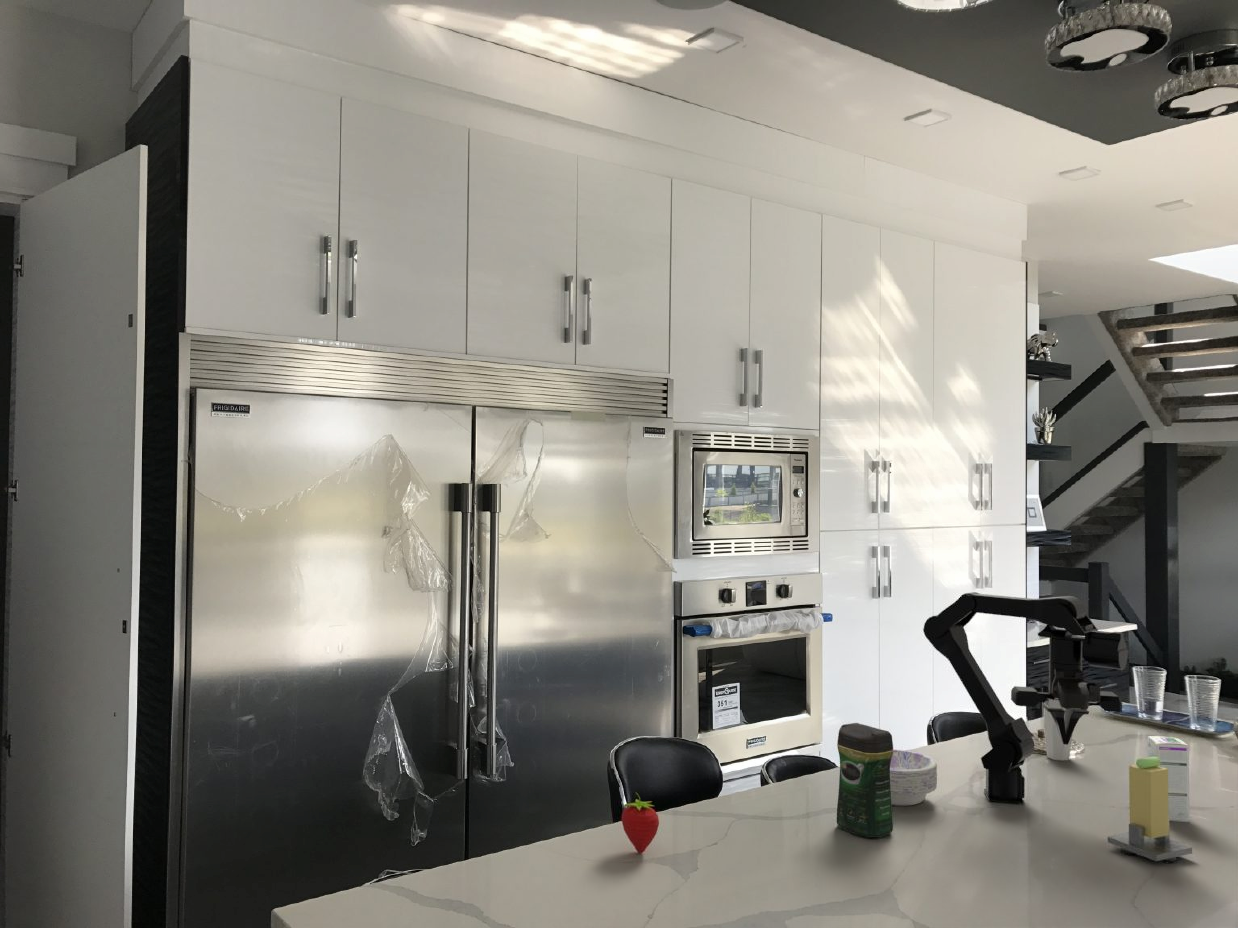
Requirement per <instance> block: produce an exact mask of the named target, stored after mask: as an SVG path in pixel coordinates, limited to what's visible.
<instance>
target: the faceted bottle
mask: <svg viewBox="0 0 1238 928" xmlns="http://www.w3.org/2000/svg"><path fill="white" fill-rule="evenodd" d="M1056 699H1058V698H1056ZM1062 709H1063V710H1065V708H1063V707H1062ZM1064 721H1065V715H1064ZM1042 722H1043V723H1042V724H1043V730H1044V739H1045V748H1046V750H1045V751H1046V755H1047V756H1046V757H1047V758H1049V759H1051V760H1054V761H1070V755H1071V754H1070V753H1071V747H1072V738H1073V733H1072V736H1071V738H1070V741H1069V743H1068V745H1066V744H1065V745H1064V744H1063V743H1062V741H1061V738H1060V735H1059V732H1058V730H1057V727H1056V724H1055V722H1054V719H1053V717H1052V715H1051V713H1050V712H1048V711H1047V710H1046V709H1045V708H1044V707H1043V721H1042Z"/></svg>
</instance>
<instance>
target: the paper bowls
mask: <svg viewBox="0 0 1238 928" xmlns="http://www.w3.org/2000/svg"><path fill="white" fill-rule="evenodd" d="M937 771H938V764H937V761H936V760H935V759H934V758H932V757H931V756H928V755H925V754H923V753H919V752H915V751H909V750H902V749H894V748H893V756H892V758H891V763H890V788H891V803H892V806H899V807H900V806H906V807H907V806H914V805H918V804H920V803H922V802H923V801H924V800H925V799H926V796H927V794H930V793H932V792H934V791H935V790H937V787H938V785H937V784H938V772H937Z"/></svg>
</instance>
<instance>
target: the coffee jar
mask: <svg viewBox="0 0 1238 928" xmlns="http://www.w3.org/2000/svg"><path fill="white" fill-rule="evenodd" d="M837 735H838V737H837V743H836V745H837V751H838V756H839V780H838V781H839V782H838V783H839V784H838V796H837V797H838V798H837V806H836V823H837V826H838V827H839V828H840V829H843V830H844V831H847V832H849V833H852V834H855V835H858V836H860V837H864V838H884V837H886V836H888V835H890V834H891V833H893V829H894V828H893V827H894V826H893V825H894V820H893V819H894V818H893V817H894V816H893V807H892V806H893V805H892V803H891V788H890V763H891V758H892V756H893V749H894V743H893V736H892V734H891V732H890V731H888V730H885V729H881V728H877V727H873V726H871V725H867V724H863V723H859V722H853V723H845V724H842V725H841V726H840V728H839V730H838V734H837Z"/></svg>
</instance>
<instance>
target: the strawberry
mask: <svg viewBox="0 0 1238 928" xmlns="http://www.w3.org/2000/svg"><path fill="white" fill-rule="evenodd" d="M635 794H636V795H637V796H638V799H636V798H635V801H634V802H630V803H629V802H628V803H625V804H623V805H622V807H626V808H624V810H622V812H621V813H622V815H621V823H622V827H623V831H624V833H625V834H626V835H625V836H627V838H628V839H629V842H630V843H631V844H632V846H633V847H634V849H635V850H636V852H637V853H638V854H642V853H644V852H645V851H646V849H647V848H648V847H649V845H651V843H652V841H653V840H654V838H656V837H655V836H657V833H658V828H659V825H660V820H659V815H658V813H657V812H656V810H655V809H653V808H652V807H655V805H653V804H651V803H652V802H653V801H652V800H650V801H649V800H648V801H641V797H640V796H639V794H638V793H637V792H635Z"/></svg>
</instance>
